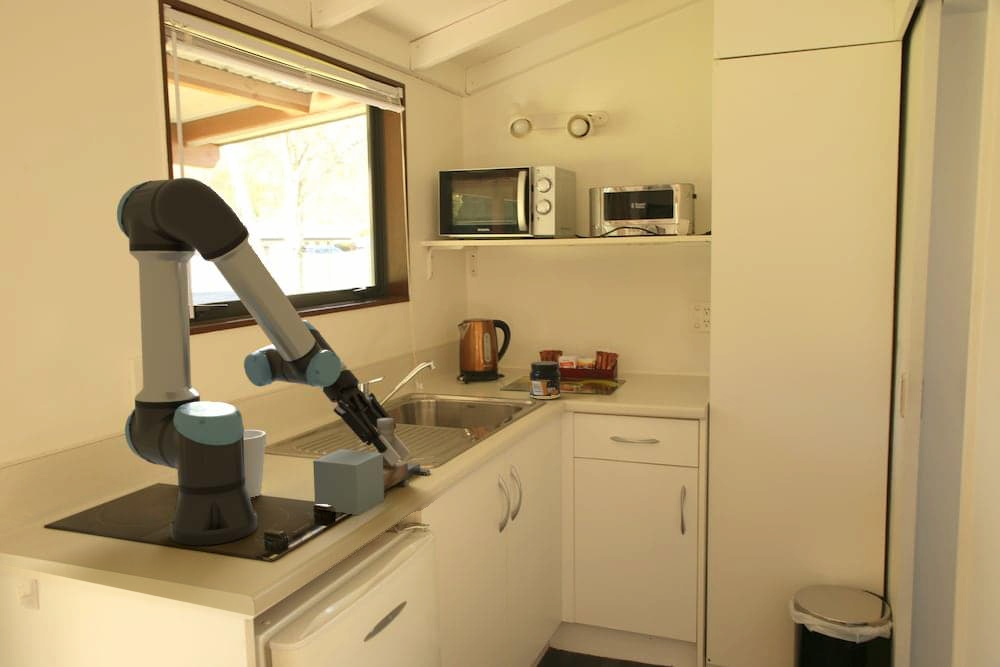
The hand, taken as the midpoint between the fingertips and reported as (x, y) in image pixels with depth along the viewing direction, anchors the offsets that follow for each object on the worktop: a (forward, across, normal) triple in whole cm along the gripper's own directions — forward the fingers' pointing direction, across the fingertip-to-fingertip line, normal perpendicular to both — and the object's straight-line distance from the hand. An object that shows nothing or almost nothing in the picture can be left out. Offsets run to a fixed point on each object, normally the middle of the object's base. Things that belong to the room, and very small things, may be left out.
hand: (401, 459), depth 175 cm
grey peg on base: (+1, -3, +6) cm, 7 cm away
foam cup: (-15, -16, +25) cm, 34 cm away
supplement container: (-1, +109, +9) cm, 109 cm away
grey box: (+2, -14, +7) cm, 16 cm away
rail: (+2, +2, +7) cm, 7 cm away
